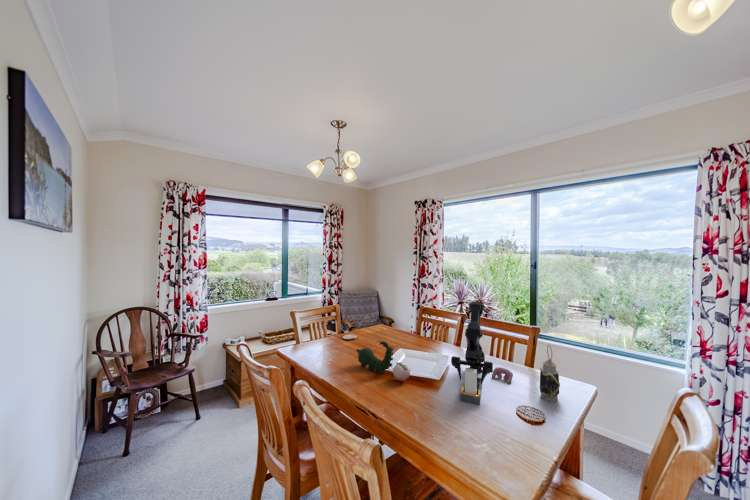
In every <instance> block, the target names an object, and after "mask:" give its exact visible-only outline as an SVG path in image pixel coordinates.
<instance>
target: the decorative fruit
mask: <svg viewBox="0 0 750 500" xmlns="http://www.w3.org/2000/svg"><path fill="white" fill-rule="evenodd" d="M392 374H393V376H394V378H395V379H396V380H398V381H400V382H403V381H406V380H408V379H409V377H410V375H411V369H410V367H409V366H408V365H406V364H403V363H402V361H401V362H398V361H397V362H395V365H394V367H393V368H392Z"/></svg>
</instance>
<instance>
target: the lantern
mask: <svg viewBox="0 0 750 500" xmlns="http://www.w3.org/2000/svg"><path fill="white" fill-rule="evenodd" d="M549 347H550V351H551V354H553V349H552V347H551V345H550V344H547V351H546V353H547V354H549ZM547 358H548V359H547V360H545V361H543V362H542V365H543V366H541V367H540V368H539V370H540V372H539V374H540V375H539V391H540V397H541V398H542V399H543V400H545V401H547V402H552V403H553V402H554V403H555V402H558V401H559V400H558V395H559V394H560V386H561V382H560V375H559V371H558V370H557V364H556V363H554V362H553V361H552V359H553V355H551V357H550V356H549V355H547Z"/></svg>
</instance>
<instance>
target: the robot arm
mask: <svg viewBox="0 0 750 500" xmlns="http://www.w3.org/2000/svg"><path fill="white" fill-rule="evenodd" d="M470 302H471V303H470ZM470 302H469V303H468V310H469V311H470V321H469V323H468V324H467V327H466V328H465V332H464V336H465V339H466V349H465V357H464V359H465V360H463V359H461V357H460V356H454V355H453V356H452V357H451V359H450V364H451V366H452V367H454V369H456V370H457V373H458V377H459V381H462V370H461V369H462V367H461V365H463V366H469V368H471V369H477V374H479V373H481V375H480V376H481V377H480V378H481V385H482V386H483V383H484V380H485V378H486V376H487V375H488V374H489V375H490V373H491V374H493V371H494V363H493V362H492V361H487V360H485V355H486V354H485V353H484V351H483V348H482V345H481V343H480V339H481V338H483V335H484V333H483V330H482V329H481V317H482V316H483V314H484V311H485V304H483V302H481V301H470Z"/></svg>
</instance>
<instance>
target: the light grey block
mask: <svg viewBox="0 0 750 500" xmlns="http://www.w3.org/2000/svg"><path fill="white" fill-rule="evenodd" d="M464 377H465V393H469V394H474V395H477V377H478V373H477V369H471V368H470V367H465V370H464Z"/></svg>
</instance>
